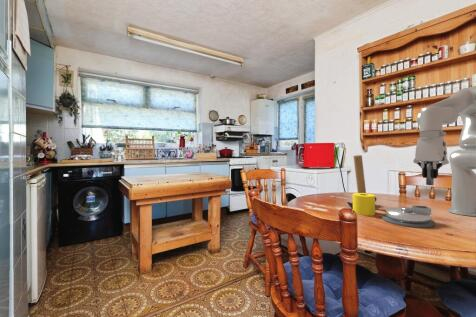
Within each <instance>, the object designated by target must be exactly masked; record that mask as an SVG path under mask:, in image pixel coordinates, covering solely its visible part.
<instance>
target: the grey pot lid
mask: <svg viewBox="0 0 476 317" xmlns="http://www.w3.org/2000/svg"><path fill="white" fill-rule="evenodd" d="M385 214H386V217H387V218H389V219H391V220H395V221H399V222H404V223H412V224H426V223H429V222H430V219H431V215H432V209H431V208H430V207H429V206H427V205H413V204H412V206H411V207H407V206H403V207H388V208H386V209H385Z"/></svg>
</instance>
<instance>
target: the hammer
mask: <svg viewBox="0 0 476 317" xmlns="http://www.w3.org/2000/svg"><path fill="white" fill-rule="evenodd" d="M352 157H353V164H354V172H355V179H356V180H355V181H356V190H357V193H367V190H366V189H367V188H366V181H365V172H364V163H363V155H361V154H356V155H353V156H352ZM376 201H377V197H376V196H375V202H376ZM346 203H347V204H348V207H349V208H351V209H353V202H350V201H349V202H348V201H346Z"/></svg>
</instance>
